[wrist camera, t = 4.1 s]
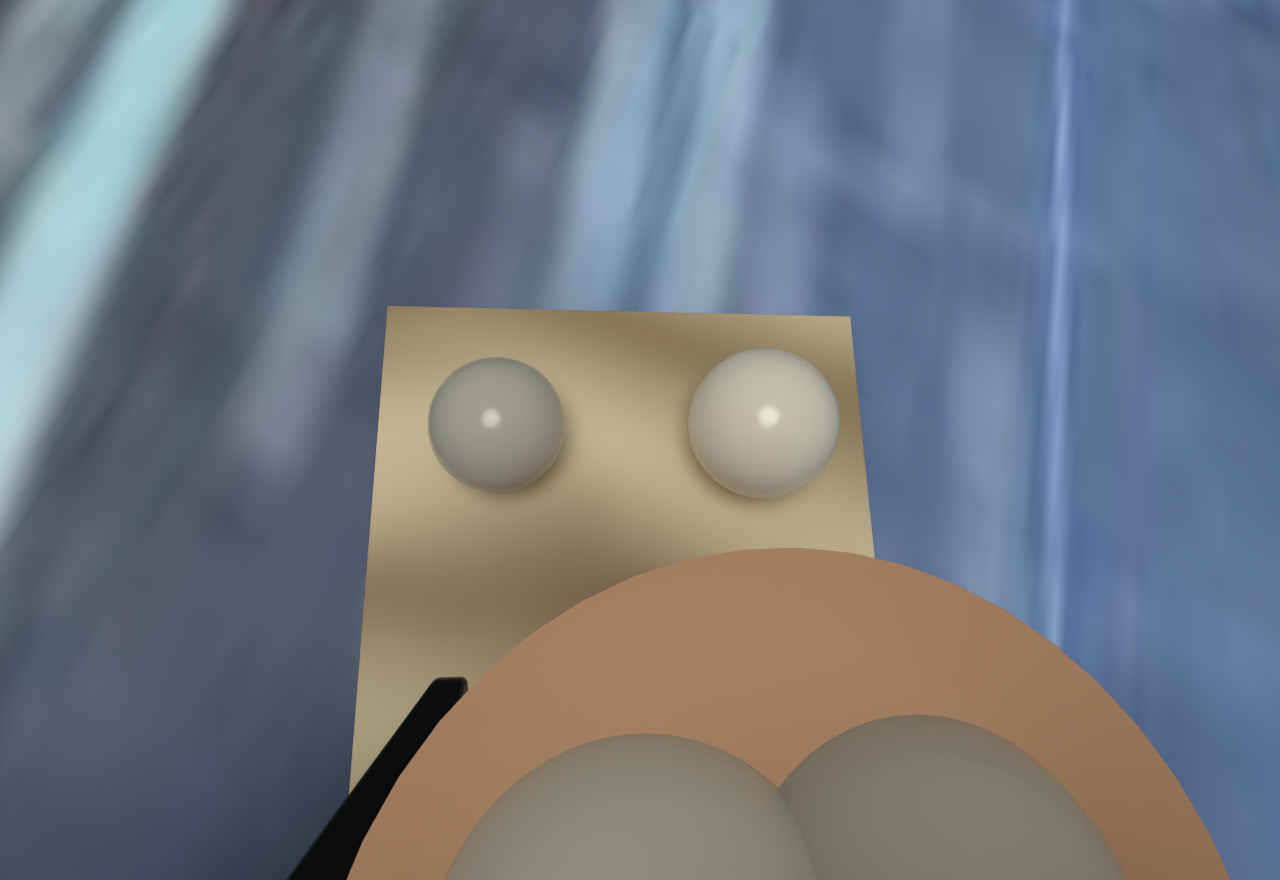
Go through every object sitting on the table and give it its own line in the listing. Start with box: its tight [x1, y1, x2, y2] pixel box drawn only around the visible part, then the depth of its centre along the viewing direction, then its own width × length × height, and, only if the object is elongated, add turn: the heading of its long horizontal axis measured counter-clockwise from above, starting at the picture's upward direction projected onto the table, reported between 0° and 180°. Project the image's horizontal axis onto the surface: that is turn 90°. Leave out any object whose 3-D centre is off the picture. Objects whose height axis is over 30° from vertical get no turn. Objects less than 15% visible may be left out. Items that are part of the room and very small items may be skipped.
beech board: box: [349, 306, 875, 794], centre depth 17 cm, size 16×12×1 cm
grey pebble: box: [427, 357, 565, 492], centre depth 16 cm, size 3×3×3 cm
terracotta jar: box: [347, 548, 1230, 880], centre depth 9 cm, size 5×5×14 cm
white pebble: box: [688, 348, 840, 498], centre depth 16 cm, size 3×3×3 cm
